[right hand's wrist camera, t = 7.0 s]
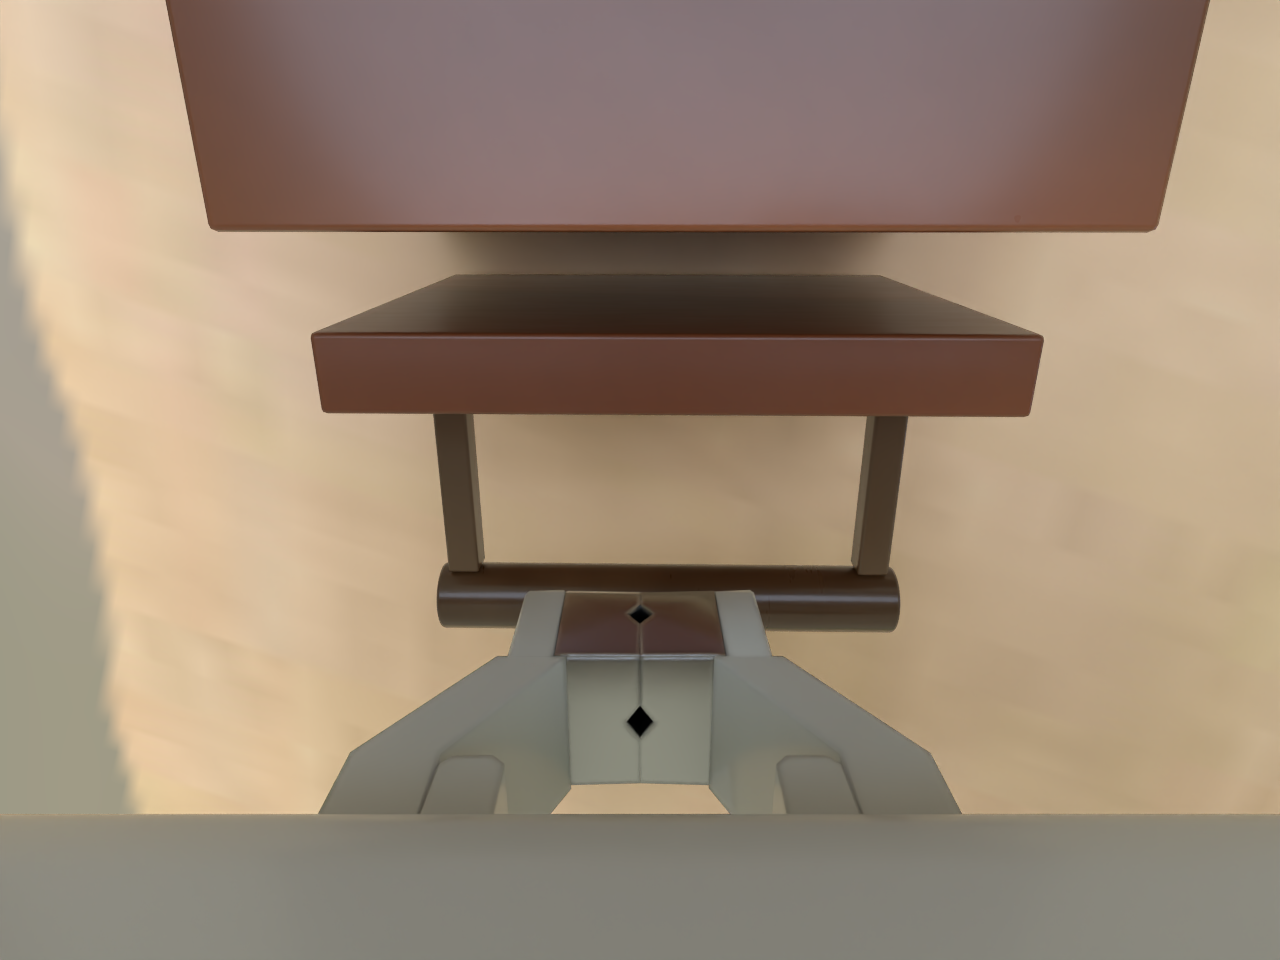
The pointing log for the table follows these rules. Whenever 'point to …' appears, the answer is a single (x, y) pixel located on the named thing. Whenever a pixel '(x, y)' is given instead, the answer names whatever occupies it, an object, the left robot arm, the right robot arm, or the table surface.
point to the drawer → (676, 403)
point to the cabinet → (685, 114)
